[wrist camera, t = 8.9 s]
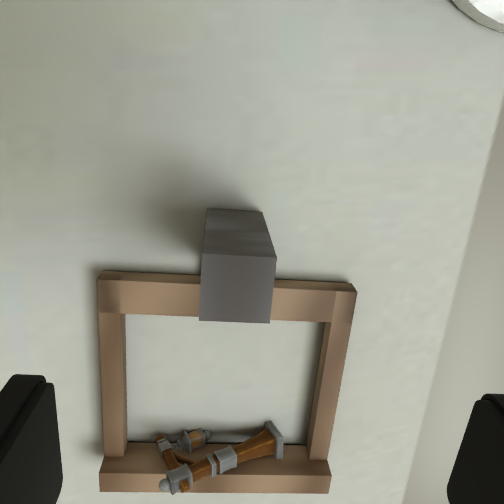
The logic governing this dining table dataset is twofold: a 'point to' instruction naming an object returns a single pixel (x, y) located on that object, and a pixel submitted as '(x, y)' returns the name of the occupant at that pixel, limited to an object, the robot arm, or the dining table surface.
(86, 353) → the dining table surface
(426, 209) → the dining table surface
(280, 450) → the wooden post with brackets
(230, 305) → the brown hollow square frame
